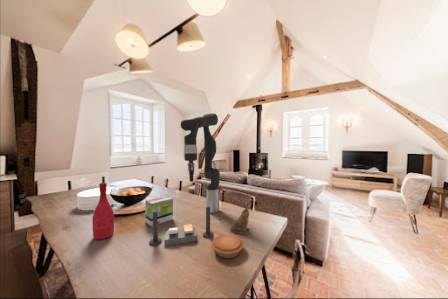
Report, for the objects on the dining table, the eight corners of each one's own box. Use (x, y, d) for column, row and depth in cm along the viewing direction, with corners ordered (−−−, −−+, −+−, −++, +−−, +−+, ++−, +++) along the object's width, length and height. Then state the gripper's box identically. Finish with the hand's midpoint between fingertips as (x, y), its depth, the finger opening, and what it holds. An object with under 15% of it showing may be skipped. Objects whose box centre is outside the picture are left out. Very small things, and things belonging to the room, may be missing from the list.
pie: (249, 257, 76) (249, 247, 75) (215, 264, 71) (215, 253, 71) (236, 239, 90) (236, 230, 90) (208, 244, 86) (208, 234, 86)
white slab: (177, 229, 93) (177, 227, 93) (177, 233, 87) (177, 230, 87) (169, 230, 92) (169, 228, 92) (168, 234, 86) (168, 231, 86)
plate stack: (92, 199, 155) (92, 187, 155) (124, 198, 158) (124, 187, 158) (67, 211, 128) (67, 197, 127) (106, 210, 131) (106, 195, 130)
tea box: (151, 227, 103) (151, 203, 103) (144, 222, 110) (144, 200, 110) (173, 219, 114) (173, 198, 114) (166, 215, 121) (165, 195, 121)
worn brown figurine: (250, 235, 99) (256, 206, 97) (247, 240, 94) (254, 210, 92) (231, 227, 103) (237, 200, 102) (228, 231, 98) (235, 202, 96)
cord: (162, 238, 91) (161, 209, 91) (160, 244, 85) (160, 213, 85) (150, 239, 89) (149, 210, 89) (148, 246, 84) (147, 215, 83)
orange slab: (192, 226, 95) (192, 223, 95) (192, 232, 89) (192, 230, 89) (184, 227, 94) (184, 224, 94) (184, 233, 88) (184, 231, 88)
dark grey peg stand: (212, 231, 98) (212, 204, 98) (214, 237, 92) (214, 208, 92) (202, 233, 97) (202, 205, 96) (203, 238, 91) (203, 209, 90)
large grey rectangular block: (195, 232, 97) (194, 226, 97) (196, 241, 88) (196, 233, 88) (166, 236, 93) (166, 229, 93) (164, 245, 84) (164, 238, 84)
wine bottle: (90, 242, 87) (89, 185, 86) (95, 233, 96) (94, 182, 95) (113, 237, 91) (112, 183, 91) (115, 229, 100) (114, 180, 99)
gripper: (198, 152, 93) (199, 183, 94) (195, 151, 106) (196, 178, 107) (184, 153, 91) (185, 184, 92) (183, 152, 104) (184, 179, 105)
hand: (191, 181), depth 99 cm, fingers closed
